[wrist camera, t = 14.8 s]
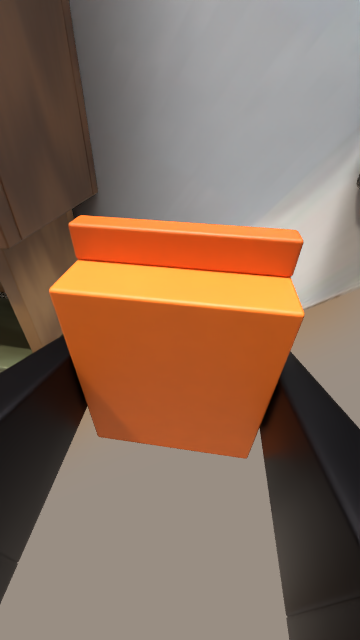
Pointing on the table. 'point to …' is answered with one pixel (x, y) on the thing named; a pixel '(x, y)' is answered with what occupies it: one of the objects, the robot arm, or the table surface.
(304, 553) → the robot arm
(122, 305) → the orange box
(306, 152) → the table surface
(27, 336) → the drawer
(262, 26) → the table surface
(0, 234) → the cabinet
